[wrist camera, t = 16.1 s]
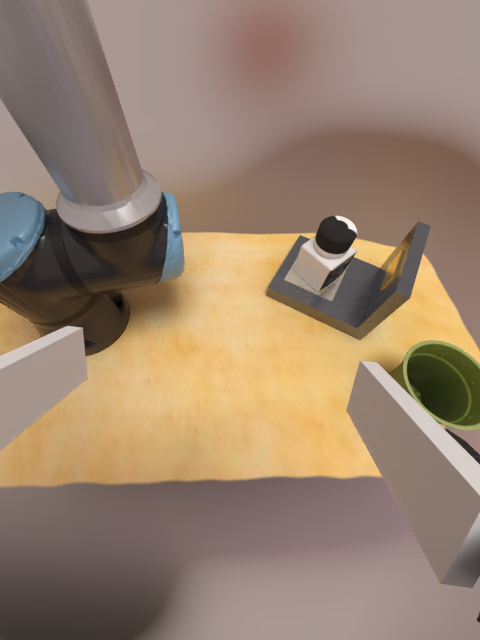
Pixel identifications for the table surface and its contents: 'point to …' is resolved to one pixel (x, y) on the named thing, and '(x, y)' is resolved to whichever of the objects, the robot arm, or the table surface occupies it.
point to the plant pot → (442, 383)
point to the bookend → (354, 287)
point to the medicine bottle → (327, 252)
